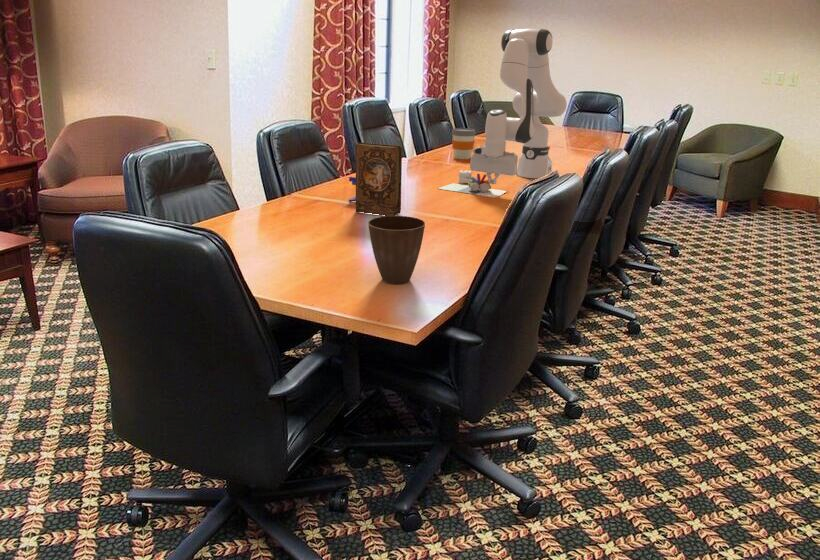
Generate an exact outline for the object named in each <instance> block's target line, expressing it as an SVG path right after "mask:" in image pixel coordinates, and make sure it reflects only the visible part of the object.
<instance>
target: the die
mask: <svg viewBox="0 0 820 560" xmlns="http://www.w3.org/2000/svg"><path fill="white" fill-rule="evenodd" d="M472 172H473V171H472V170H459V173H458V184H463V183H468V184H467V185H469V183H471V182H472V180H471V177H472V174H473V173H472Z"/></svg>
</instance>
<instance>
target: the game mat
mask: <svg viewBox="0 0 820 560" xmlns="http://www.w3.org/2000/svg"><path fill="white" fill-rule="evenodd" d="M468 185H469V184H462V183H454V182H453V183H449V184H447V185H444V186H441V187H438V188H437V190H441V189H442V191H447V190H448V191H447V192H454V191H455V193H460V192H462V193H461V194H467V193H469V195H473V194H475V195H474V196H480V195H481V197H487V196H488V198H493V197H494V198H495V197H496V198H498V197H500V196H503V195H505V194H506V193H505V192H506V191H507V190H501V189H493V188H491V189H489V190H488V191H487V192H482V191H481V190H480V189H479V190H478V191H477V192H473V191H471V189H470V187H469V186H468ZM504 193H505V194H504ZM502 194H503V195H502Z"/></svg>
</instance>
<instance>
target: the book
mask: <svg viewBox="0 0 820 560" xmlns="http://www.w3.org/2000/svg"><path fill="white" fill-rule="evenodd" d="M402 159H403V147H402V146H401V145H395V144H384V143H383V144H382V143H372V142H371V143H370V142H357V143H355V178H356V185H355V196H356V203H355V213H356V212H364V213H372V214H379V215H385V216H397V215H399V214H400V213H401V209H402V177H403V176H402V171H403V170H402V169H403V168H402V165H403V160H402Z"/></svg>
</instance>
